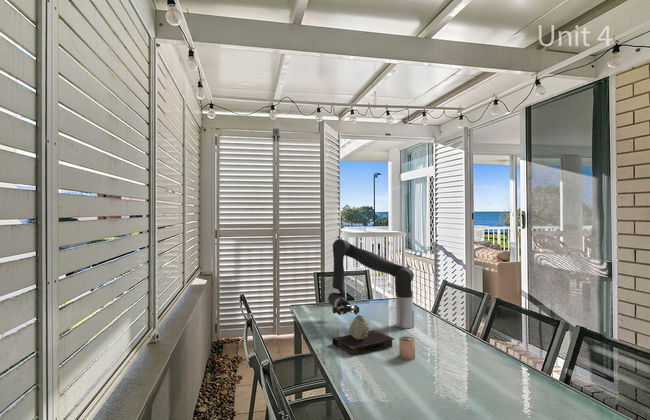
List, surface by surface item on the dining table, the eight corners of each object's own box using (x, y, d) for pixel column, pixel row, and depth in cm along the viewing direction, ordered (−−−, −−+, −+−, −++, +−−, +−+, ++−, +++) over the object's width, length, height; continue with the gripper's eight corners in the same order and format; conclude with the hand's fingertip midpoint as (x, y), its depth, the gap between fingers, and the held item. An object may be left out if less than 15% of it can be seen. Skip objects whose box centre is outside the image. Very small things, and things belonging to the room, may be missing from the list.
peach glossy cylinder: (411, 353, 173) (411, 335, 173) (417, 359, 166) (417, 340, 166) (397, 354, 172) (397, 336, 172) (402, 360, 165) (402, 341, 165)
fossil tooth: (356, 334, 191) (372, 340, 178) (345, 335, 188) (361, 342, 175) (356, 311, 192) (372, 315, 179) (345, 312, 190) (360, 316, 176)
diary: (332, 346, 185) (332, 336, 185) (373, 338, 197) (373, 329, 197) (352, 359, 169) (352, 347, 169) (396, 349, 181) (396, 338, 181)
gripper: (329, 299, 210) (334, 306, 194) (354, 298, 212) (361, 305, 196) (329, 312, 210) (334, 320, 194) (354, 311, 212) (361, 319, 196)
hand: (348, 312), depth 195 cm, fingers open, 8 cm apart
